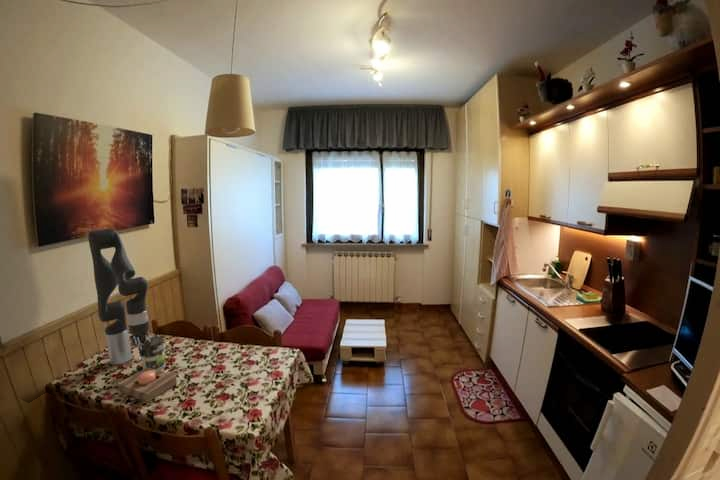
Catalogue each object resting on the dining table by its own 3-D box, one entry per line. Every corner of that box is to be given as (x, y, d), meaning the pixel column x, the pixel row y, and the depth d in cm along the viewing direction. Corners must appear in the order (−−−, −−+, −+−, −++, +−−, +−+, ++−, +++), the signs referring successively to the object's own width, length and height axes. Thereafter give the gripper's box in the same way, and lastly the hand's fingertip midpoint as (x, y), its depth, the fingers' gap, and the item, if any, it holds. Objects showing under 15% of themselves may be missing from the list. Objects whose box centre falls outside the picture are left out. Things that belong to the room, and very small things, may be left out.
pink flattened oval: (135, 386, 145) (134, 377, 144) (149, 377, 151) (148, 369, 150) (145, 389, 142) (144, 380, 141) (159, 380, 148) (158, 372, 148)
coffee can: (170, 361, 168) (167, 337, 165) (154, 372, 158) (151, 347, 155) (154, 359, 170) (151, 335, 167) (137, 370, 160) (133, 345, 157)
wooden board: (118, 391, 144) (117, 383, 143) (148, 374, 157) (147, 366, 156) (148, 402, 137) (146, 394, 136) (176, 383, 150) (175, 375, 149)
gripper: (120, 322, 140) (125, 357, 143) (139, 326, 135) (145, 363, 138) (137, 315, 146) (142, 349, 150) (156, 319, 142) (161, 354, 145)
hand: (143, 355), depth 144 cm, fingers closed
